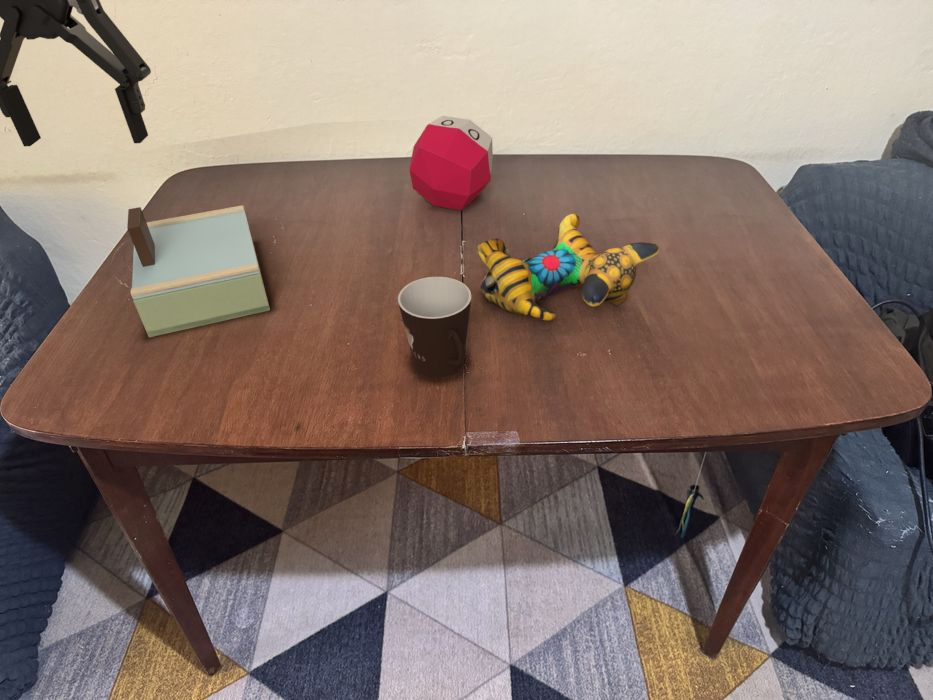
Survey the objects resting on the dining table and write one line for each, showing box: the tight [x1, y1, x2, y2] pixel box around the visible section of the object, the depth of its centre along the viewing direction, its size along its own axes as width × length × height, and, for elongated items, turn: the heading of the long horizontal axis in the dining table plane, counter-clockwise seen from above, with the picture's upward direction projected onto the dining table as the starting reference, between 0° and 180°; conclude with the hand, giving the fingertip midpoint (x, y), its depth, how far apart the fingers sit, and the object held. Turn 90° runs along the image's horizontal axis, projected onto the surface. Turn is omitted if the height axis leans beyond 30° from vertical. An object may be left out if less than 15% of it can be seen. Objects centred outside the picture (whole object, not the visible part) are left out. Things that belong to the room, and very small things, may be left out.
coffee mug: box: [397, 276, 472, 379], centre depth 77 cm, size 12×9×10 cm
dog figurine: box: [476, 213, 660, 322], centre depth 88 cm, size 20×12×18 cm
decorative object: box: [408, 115, 494, 211], centre depth 112 cm, size 15×15×15 cm
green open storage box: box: [132, 216, 271, 338], centre depth 94 cm, size 16×20×6 cm
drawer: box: [126, 204, 261, 300], centre depth 90 cm, size 16×20×7 cm
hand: (87, 141), depth 80 cm, fingers open, 13 cm apart
